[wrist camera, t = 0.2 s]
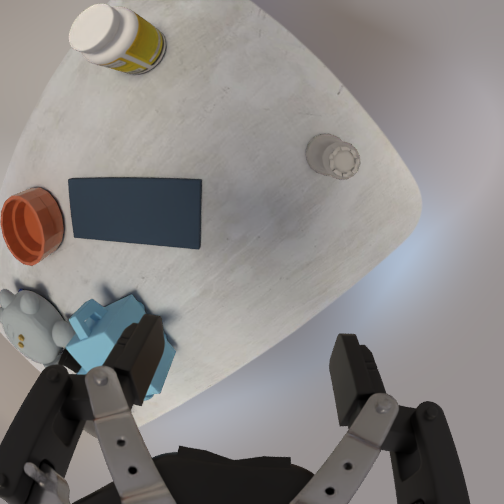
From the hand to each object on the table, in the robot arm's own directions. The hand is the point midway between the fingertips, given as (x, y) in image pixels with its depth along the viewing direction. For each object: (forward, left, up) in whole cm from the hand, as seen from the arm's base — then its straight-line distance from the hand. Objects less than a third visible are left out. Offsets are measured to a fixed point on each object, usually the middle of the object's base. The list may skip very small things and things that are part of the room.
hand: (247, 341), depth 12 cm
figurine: (+23, -37, -21) cm, 48 cm away
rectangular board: (+1, -16, -21) cm, 26 cm away
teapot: (+19, -18, -21) cm, 33 cm away
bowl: (+3, -32, -21) cm, 38 cm away
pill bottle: (-18, -15, -21) cm, 32 cm away
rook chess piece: (-7, +6, -21) cm, 23 cm away
